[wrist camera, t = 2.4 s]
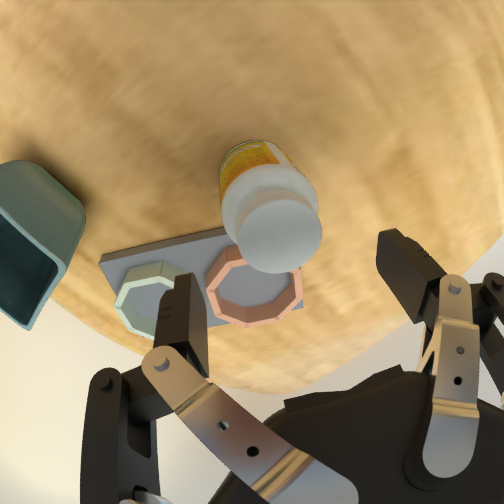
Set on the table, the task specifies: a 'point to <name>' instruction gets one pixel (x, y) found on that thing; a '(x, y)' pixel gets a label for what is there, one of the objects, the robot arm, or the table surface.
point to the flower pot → (34, 238)
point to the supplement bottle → (268, 207)
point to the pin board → (199, 282)
